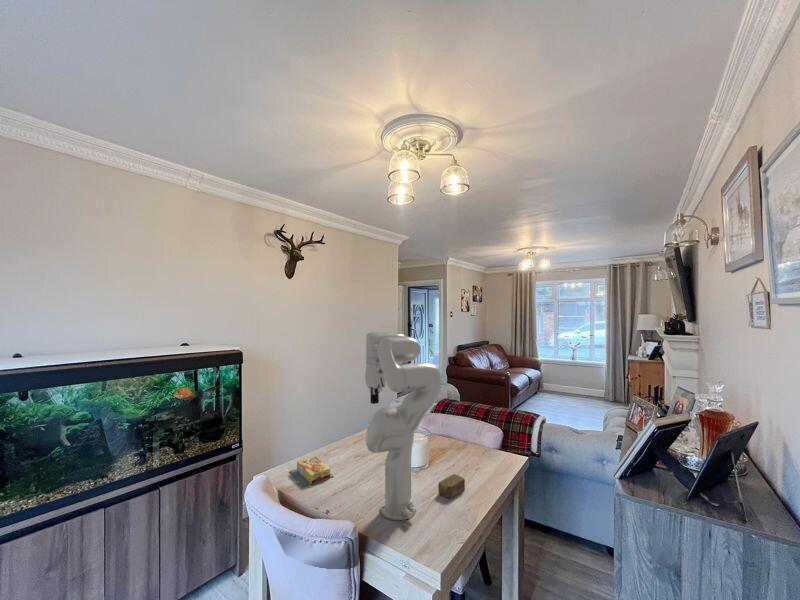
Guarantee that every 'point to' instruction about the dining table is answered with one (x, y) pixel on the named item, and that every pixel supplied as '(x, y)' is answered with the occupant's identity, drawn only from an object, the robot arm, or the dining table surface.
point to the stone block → (451, 486)
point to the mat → (301, 479)
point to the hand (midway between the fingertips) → (374, 403)
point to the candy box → (313, 470)
